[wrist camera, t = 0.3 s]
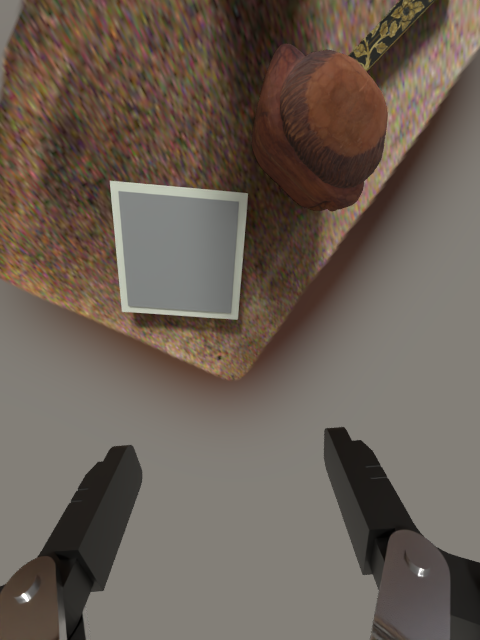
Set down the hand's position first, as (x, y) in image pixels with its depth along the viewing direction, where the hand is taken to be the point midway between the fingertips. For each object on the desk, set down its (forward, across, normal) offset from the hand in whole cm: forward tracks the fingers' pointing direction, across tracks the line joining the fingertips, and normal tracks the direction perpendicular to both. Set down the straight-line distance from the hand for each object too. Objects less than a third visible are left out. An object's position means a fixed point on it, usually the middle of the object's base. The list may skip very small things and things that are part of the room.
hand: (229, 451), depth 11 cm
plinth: (+29, +6, -5) cm, 30 cm away
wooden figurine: (+29, -8, -14) cm, 34 cm away
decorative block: (+30, -19, -24) cm, 43 cm away
